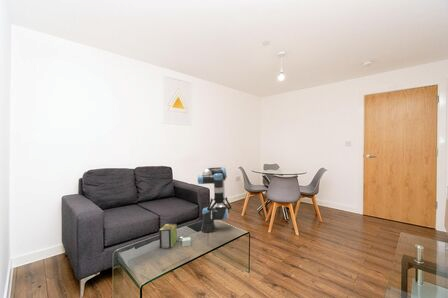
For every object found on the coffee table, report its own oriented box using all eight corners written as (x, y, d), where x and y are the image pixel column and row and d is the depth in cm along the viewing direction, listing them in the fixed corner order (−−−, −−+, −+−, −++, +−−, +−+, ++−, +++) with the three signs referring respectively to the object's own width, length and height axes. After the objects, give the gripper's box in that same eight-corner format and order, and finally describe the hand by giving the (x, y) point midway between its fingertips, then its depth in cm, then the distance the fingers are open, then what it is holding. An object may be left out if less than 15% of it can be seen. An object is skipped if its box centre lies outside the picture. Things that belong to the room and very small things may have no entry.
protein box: (177, 240, 190) (176, 223, 191) (171, 248, 175) (170, 229, 175) (166, 240, 191) (165, 223, 192) (159, 248, 176) (158, 229, 176)
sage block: (182, 243, 184) (182, 237, 184) (190, 242, 185) (190, 237, 185) (182, 246, 177) (182, 240, 177) (190, 246, 178) (190, 240, 178)
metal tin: (178, 239, 192) (178, 235, 192) (185, 239, 193) (185, 234, 193) (177, 242, 186) (177, 238, 186) (184, 242, 187) (184, 237, 187)
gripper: (204, 194, 166) (204, 220, 166) (234, 192, 170) (235, 217, 170) (203, 192, 173) (204, 217, 173) (232, 190, 177) (233, 215, 177)
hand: (219, 217), depth 171 cm, fingers open, 13 cm apart
